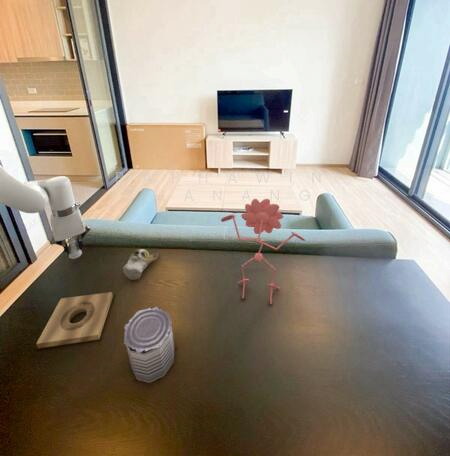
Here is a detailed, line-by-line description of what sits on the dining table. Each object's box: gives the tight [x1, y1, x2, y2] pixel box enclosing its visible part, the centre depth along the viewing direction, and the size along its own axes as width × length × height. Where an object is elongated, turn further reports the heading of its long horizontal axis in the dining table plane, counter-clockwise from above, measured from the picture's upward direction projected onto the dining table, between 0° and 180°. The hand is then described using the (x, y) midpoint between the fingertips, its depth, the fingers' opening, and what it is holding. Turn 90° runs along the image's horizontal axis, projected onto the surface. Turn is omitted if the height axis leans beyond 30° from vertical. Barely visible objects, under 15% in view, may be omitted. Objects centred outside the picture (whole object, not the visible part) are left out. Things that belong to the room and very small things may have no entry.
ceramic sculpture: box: [122, 248, 161, 281], centre depth 92 cm, size 11×9×15 cm
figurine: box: [220, 198, 306, 305], centre depth 80 cm, size 15×26×35 cm, turn 77°
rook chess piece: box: [66, 236, 83, 260], centre depth 95 cm, size 4×4×8 cm
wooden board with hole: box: [35, 291, 114, 350], centre depth 75 cm, size 16×14×2 cm
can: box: [123, 306, 175, 384], centre depth 63 cm, size 11×11×12 cm
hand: (74, 249), depth 95 cm, fingers closed on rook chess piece, 3 cm apart
